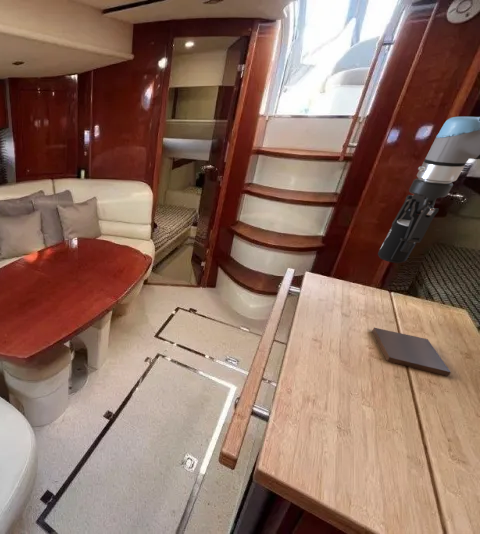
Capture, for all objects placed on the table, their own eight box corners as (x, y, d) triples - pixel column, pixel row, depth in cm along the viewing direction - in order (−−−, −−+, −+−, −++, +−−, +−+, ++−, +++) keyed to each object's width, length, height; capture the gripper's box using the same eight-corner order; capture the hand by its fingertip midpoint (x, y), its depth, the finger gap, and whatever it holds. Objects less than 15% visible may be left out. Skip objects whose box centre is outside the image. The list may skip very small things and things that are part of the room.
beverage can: (383, 262, 93) (403, 226, 87) (372, 253, 98) (390, 218, 92) (410, 265, 91) (432, 228, 85) (396, 255, 97) (416, 219, 91)
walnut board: (424, 343, 87) (427, 339, 86) (447, 376, 77) (451, 372, 76) (371, 331, 92) (374, 327, 91) (386, 361, 82) (389, 357, 81)
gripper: (403, 171, 91) (368, 240, 103) (431, 187, 76) (387, 266, 88) (436, 173, 88) (397, 244, 100) (473, 190, 73) (422, 272, 85)
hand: (392, 254), depth 94 cm, fingers closed on beverage can, 6 cm apart
